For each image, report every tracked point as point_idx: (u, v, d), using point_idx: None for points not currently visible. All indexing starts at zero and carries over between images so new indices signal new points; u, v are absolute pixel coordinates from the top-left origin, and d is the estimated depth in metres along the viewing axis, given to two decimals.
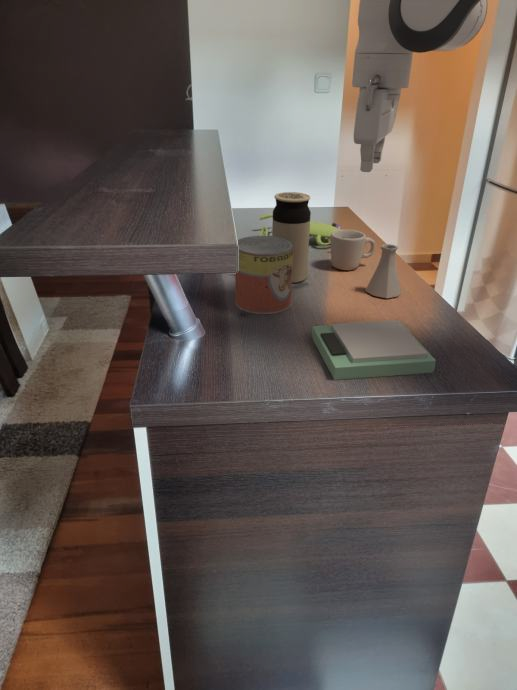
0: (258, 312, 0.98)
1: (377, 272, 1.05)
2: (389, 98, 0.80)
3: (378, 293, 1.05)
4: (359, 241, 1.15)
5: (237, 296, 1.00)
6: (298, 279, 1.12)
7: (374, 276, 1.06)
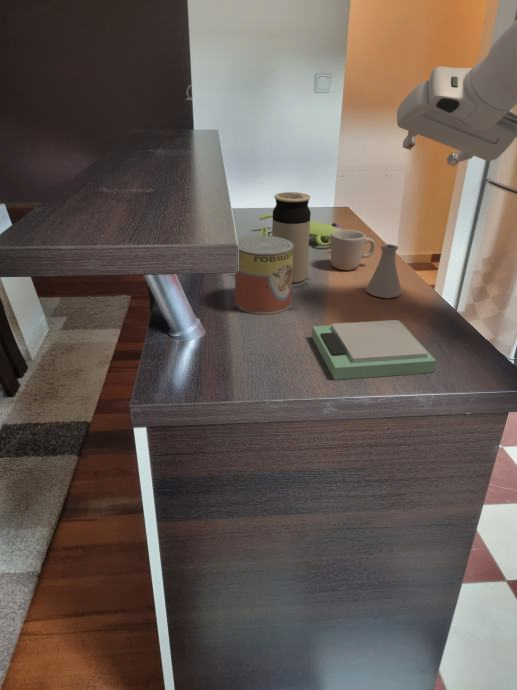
0: (258, 312, 0.98)
1: (377, 272, 1.05)
2: None
3: (378, 293, 1.05)
4: (359, 241, 1.15)
5: (237, 296, 1.00)
6: (298, 279, 1.12)
7: (374, 276, 1.06)
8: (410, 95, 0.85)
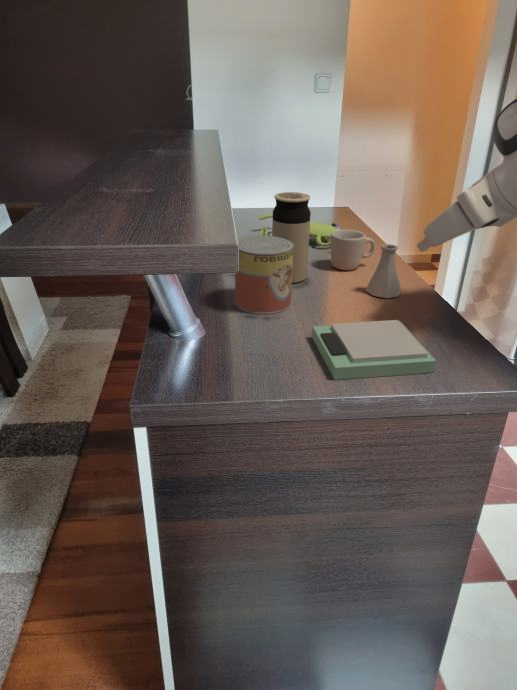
0: (258, 312, 0.98)
1: (377, 272, 1.05)
2: None
3: (378, 293, 1.05)
4: (359, 241, 1.15)
5: (237, 296, 1.00)
6: (298, 279, 1.12)
7: (374, 276, 1.06)
8: (441, 220, 0.85)
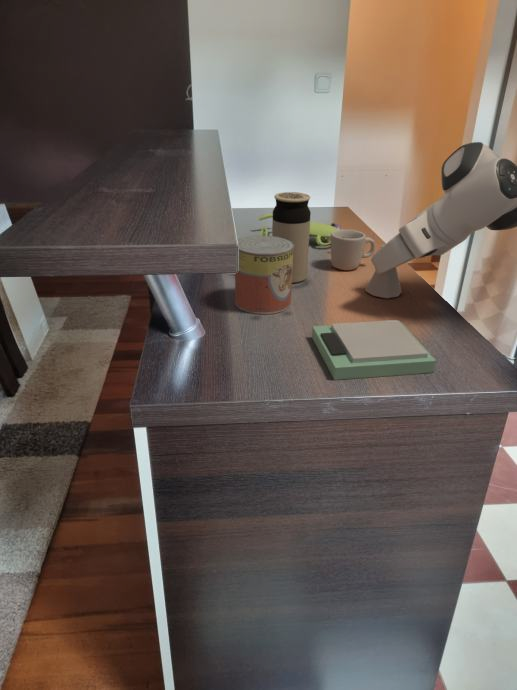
0: (258, 312, 0.98)
1: None
2: None
3: (378, 293, 1.05)
4: (359, 241, 1.15)
5: (237, 296, 1.00)
6: (298, 279, 1.12)
7: (374, 276, 1.06)
8: (386, 250, 0.93)
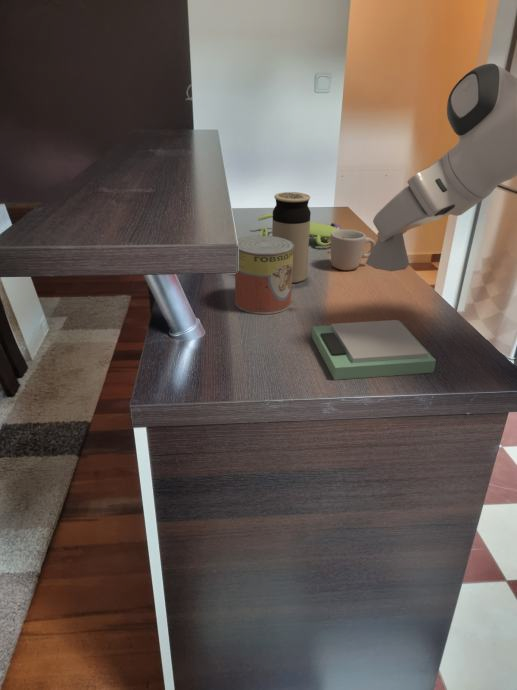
0: (258, 312, 0.98)
1: None
2: None
3: (381, 265, 0.88)
4: (359, 241, 1.15)
5: (237, 296, 1.00)
6: (298, 279, 1.12)
7: (376, 245, 0.89)
8: (391, 207, 0.75)
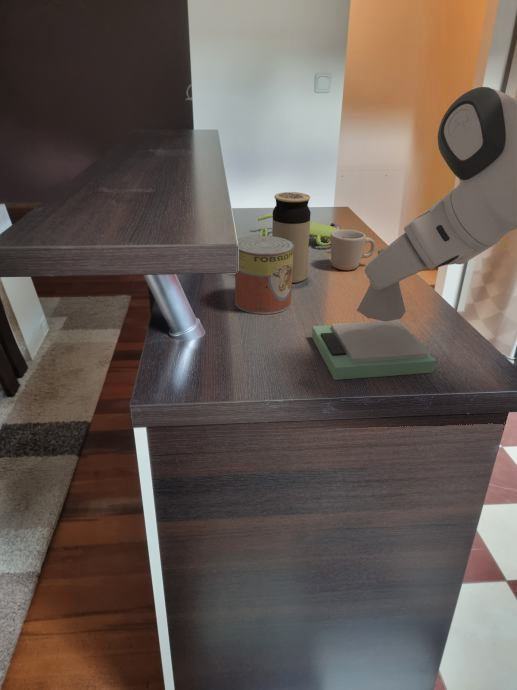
0: (258, 312, 0.98)
1: None
2: None
3: (374, 314, 0.78)
4: (359, 241, 1.15)
5: (237, 296, 1.00)
6: (298, 279, 1.12)
7: (369, 291, 0.78)
8: (385, 257, 0.65)
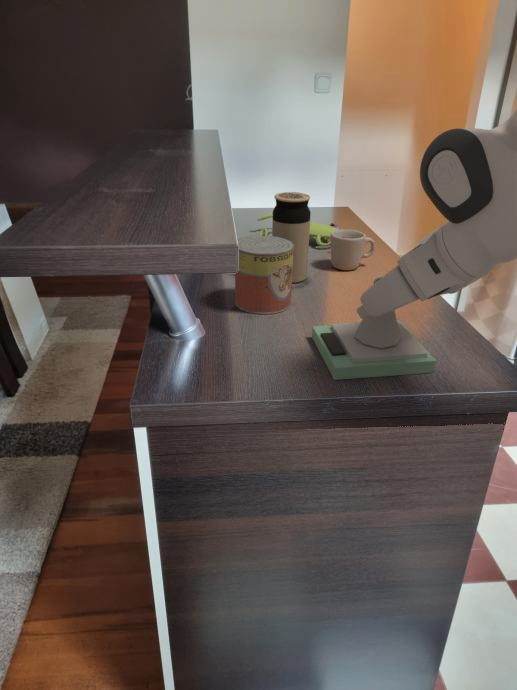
0: (258, 312, 0.98)
1: None
2: None
3: (370, 341, 0.80)
4: (359, 241, 1.15)
5: (237, 296, 1.00)
6: (298, 279, 1.12)
7: (365, 318, 0.81)
8: (379, 288, 0.68)
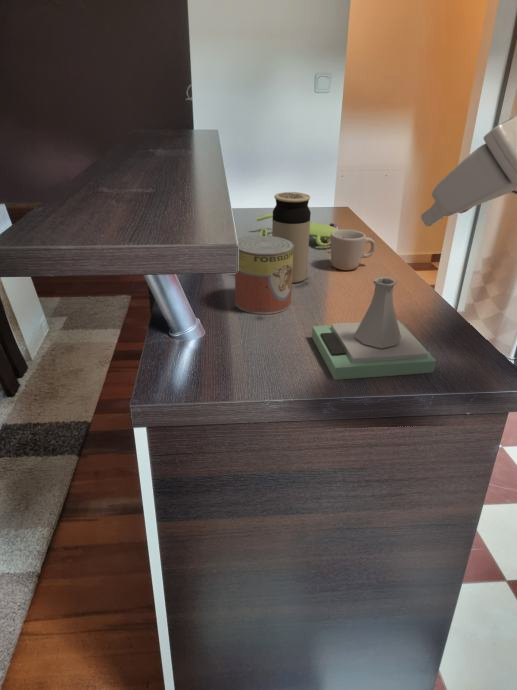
0: (258, 312, 0.98)
1: (369, 313, 0.81)
2: None
3: (370, 341, 0.80)
4: (359, 241, 1.15)
5: (237, 296, 1.00)
6: (298, 279, 1.12)
7: (365, 318, 0.81)
8: (460, 173, 0.56)
